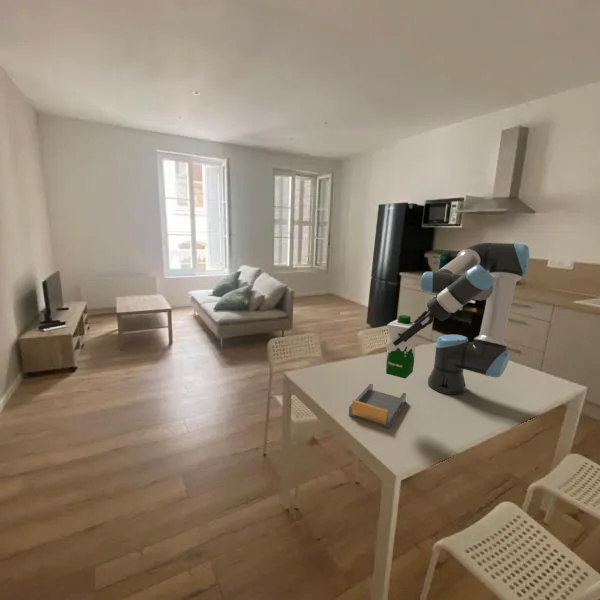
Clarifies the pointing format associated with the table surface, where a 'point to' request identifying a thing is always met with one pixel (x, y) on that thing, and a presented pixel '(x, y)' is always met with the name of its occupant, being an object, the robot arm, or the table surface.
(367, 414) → the rail channel
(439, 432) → the table surface
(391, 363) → the soya milk
